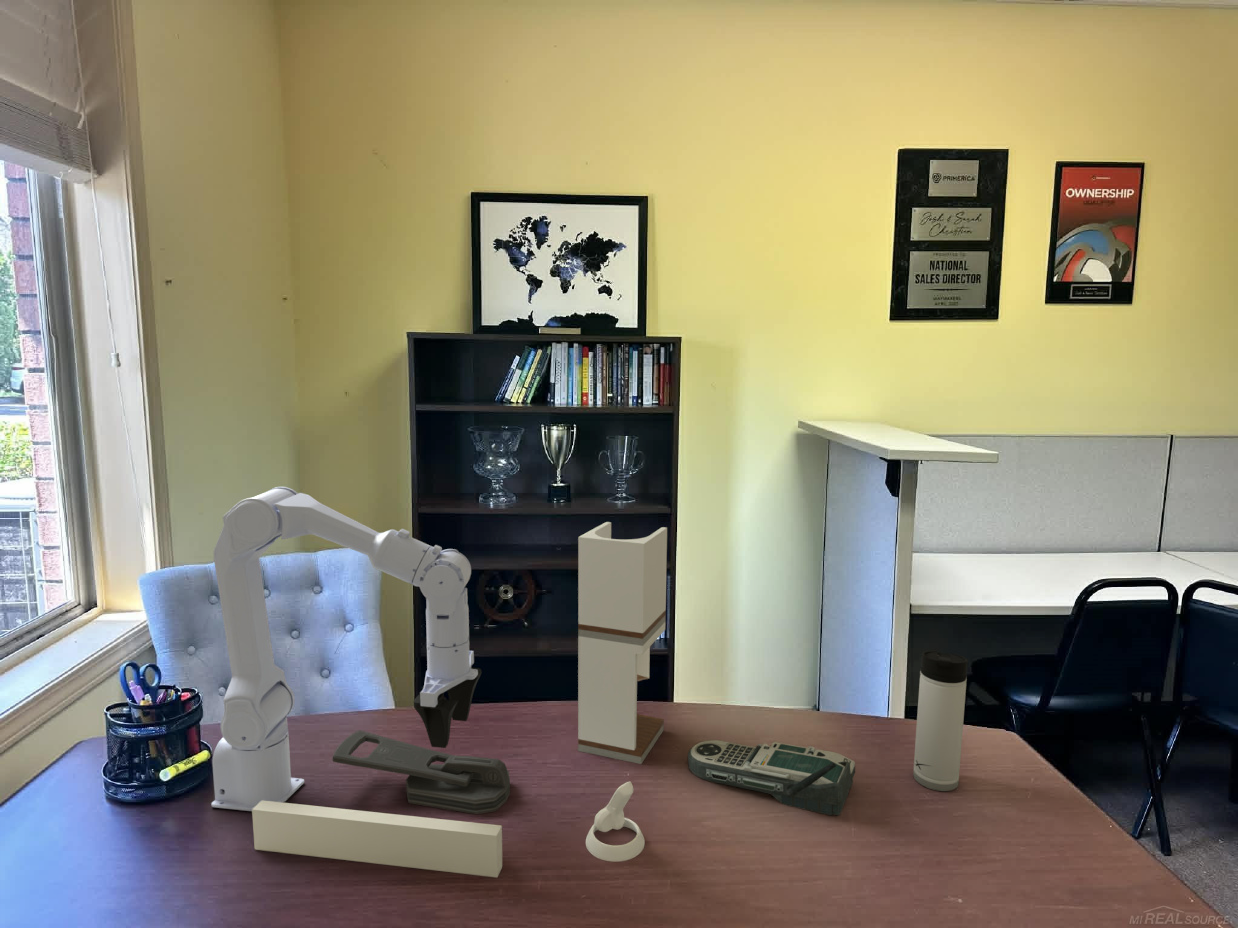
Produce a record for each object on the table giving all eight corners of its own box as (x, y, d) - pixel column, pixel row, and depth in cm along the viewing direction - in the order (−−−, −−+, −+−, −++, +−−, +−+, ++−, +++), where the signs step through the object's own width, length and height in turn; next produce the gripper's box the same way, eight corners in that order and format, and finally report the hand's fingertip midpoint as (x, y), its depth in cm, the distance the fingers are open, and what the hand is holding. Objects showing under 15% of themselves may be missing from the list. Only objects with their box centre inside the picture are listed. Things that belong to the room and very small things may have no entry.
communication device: (705, 746, 124) (706, 695, 122) (855, 784, 113) (858, 728, 111) (676, 782, 113) (676, 726, 112) (838, 827, 102) (841, 766, 101)
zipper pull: (355, 726, 115) (516, 739, 111) (357, 767, 116) (516, 780, 112) (325, 757, 106) (498, 771, 103) (327, 800, 107) (499, 816, 104)
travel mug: (912, 787, 111) (921, 658, 108) (913, 765, 117) (922, 642, 114) (959, 797, 109) (969, 665, 106) (957, 773, 115) (967, 648, 112)
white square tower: (641, 763, 117) (644, 543, 112) (578, 750, 121) (578, 537, 116) (663, 730, 128) (667, 527, 123) (605, 719, 131) (606, 521, 126)
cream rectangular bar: (254, 849, 96) (252, 809, 95) (273, 829, 100) (271, 791, 99) (497, 877, 91) (496, 835, 91) (507, 855, 95) (506, 815, 95)
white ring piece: (633, 852, 88) (595, 803, 91) (605, 888, 96) (570, 842, 99) (675, 813, 93) (637, 768, 96) (645, 850, 101) (611, 807, 104)
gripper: (455, 662, 97) (458, 761, 99) (492, 623, 111) (494, 710, 113) (404, 658, 98) (407, 756, 100) (447, 620, 112) (449, 706, 114)
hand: (450, 732), depth 106 cm, fingers open, 7 cm apart
